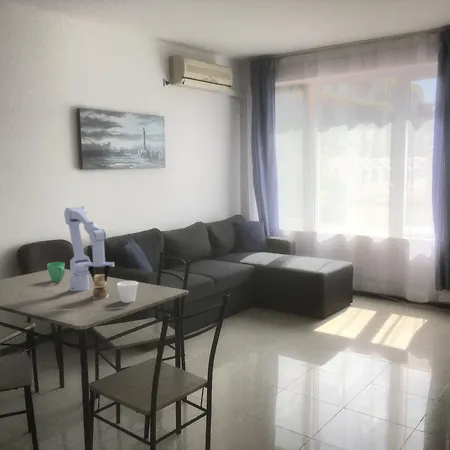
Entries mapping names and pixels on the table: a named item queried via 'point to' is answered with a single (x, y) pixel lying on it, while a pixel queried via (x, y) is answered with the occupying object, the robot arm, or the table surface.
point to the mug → (56, 270)
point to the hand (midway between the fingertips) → (100, 281)
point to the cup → (127, 290)
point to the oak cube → (99, 280)
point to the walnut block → (100, 292)
